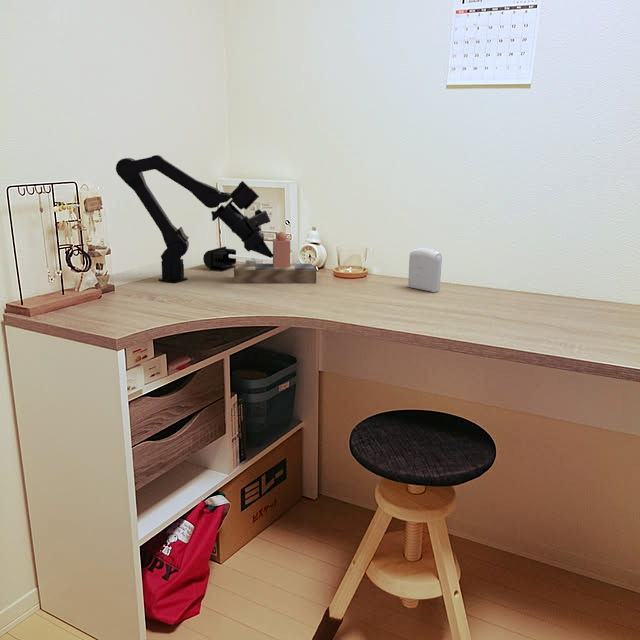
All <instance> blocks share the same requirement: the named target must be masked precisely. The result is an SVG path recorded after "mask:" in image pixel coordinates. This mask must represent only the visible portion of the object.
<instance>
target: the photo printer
mask: <svg viewBox="0 0 640 640" xmlns="http://www.w3.org/2000/svg"><path fill="white" fill-rule="evenodd" d="M442 259H443V257H442V254H441V252H439V251H437V250H435V249H432V248H427V247H418V248H414V249H412V250H410V254H409V262H408V278H407V279H408V281H407V282H408V283H407V284H408V285H407V286H408V287H409V288H411V289H417V290H422V291H426V292H431V293H437V292H439V291H440V290H441V278H442V277H441V275H442Z"/></svg>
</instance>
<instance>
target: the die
mask: <svg viewBox="0 0 640 640" xmlns="http://www.w3.org/2000/svg"><path fill="white" fill-rule="evenodd" d="M245 263H252V264H264V261H263V259H259V258H254V257H253V258H248V259H245Z"/></svg>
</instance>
